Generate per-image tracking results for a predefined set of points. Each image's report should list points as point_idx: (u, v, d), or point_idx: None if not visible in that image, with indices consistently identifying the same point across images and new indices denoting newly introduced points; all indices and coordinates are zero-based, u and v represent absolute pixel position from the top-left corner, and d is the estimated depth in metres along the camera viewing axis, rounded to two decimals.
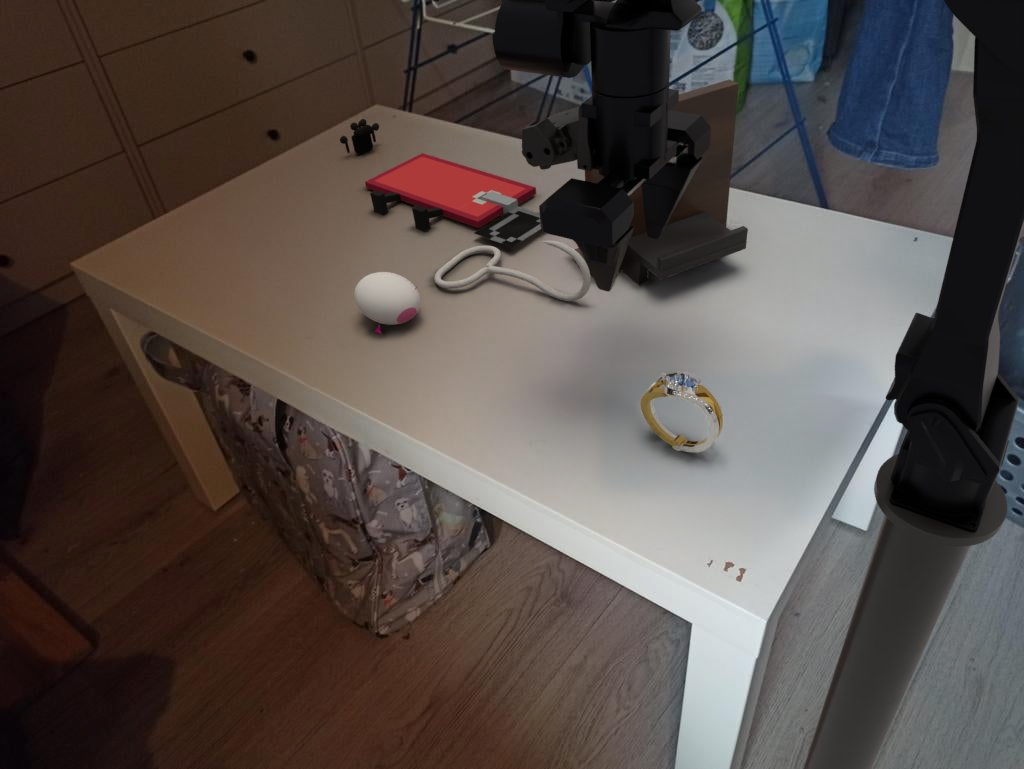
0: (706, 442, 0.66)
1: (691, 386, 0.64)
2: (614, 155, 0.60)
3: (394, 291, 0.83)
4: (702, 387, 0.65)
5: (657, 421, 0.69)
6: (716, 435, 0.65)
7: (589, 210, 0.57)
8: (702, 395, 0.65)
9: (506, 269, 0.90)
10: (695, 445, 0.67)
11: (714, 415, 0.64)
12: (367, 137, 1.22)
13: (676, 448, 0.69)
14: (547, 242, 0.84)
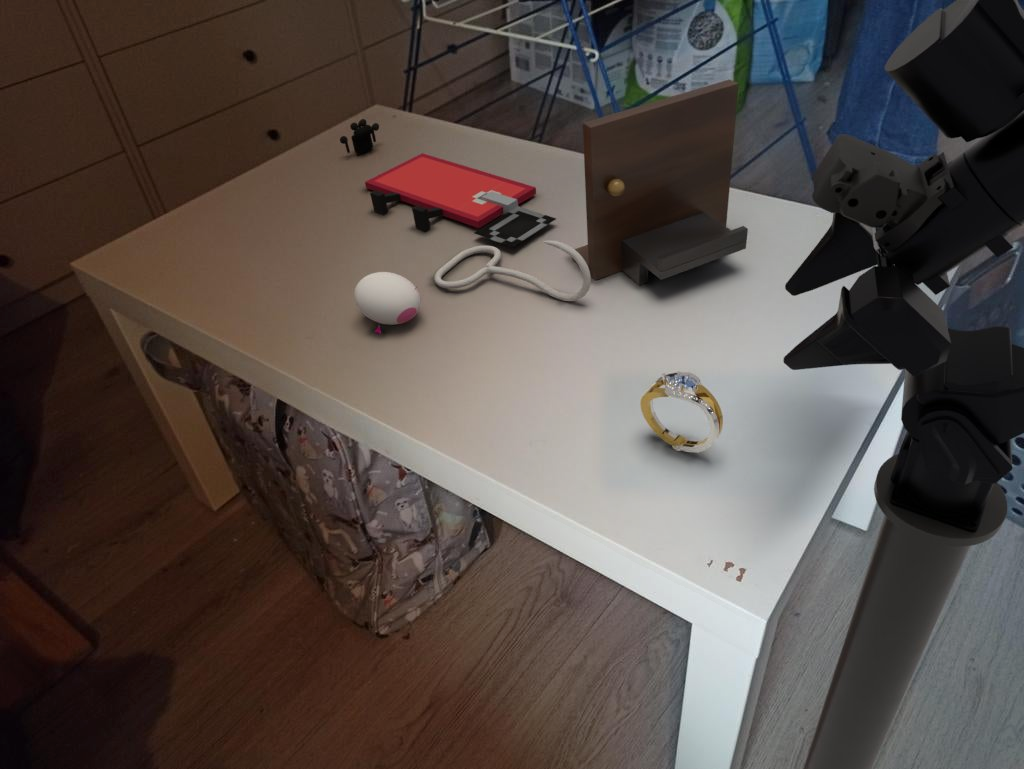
0: (706, 442, 0.66)
1: (691, 386, 0.64)
2: (933, 257, 0.49)
3: (394, 291, 0.83)
4: (702, 387, 0.65)
5: (657, 421, 0.69)
6: (716, 435, 0.65)
7: (939, 339, 0.46)
8: (702, 395, 0.65)
9: (506, 269, 0.90)
10: (695, 445, 0.67)
11: (714, 415, 0.64)
12: (367, 137, 1.22)
13: (676, 448, 0.69)
14: (547, 242, 0.84)
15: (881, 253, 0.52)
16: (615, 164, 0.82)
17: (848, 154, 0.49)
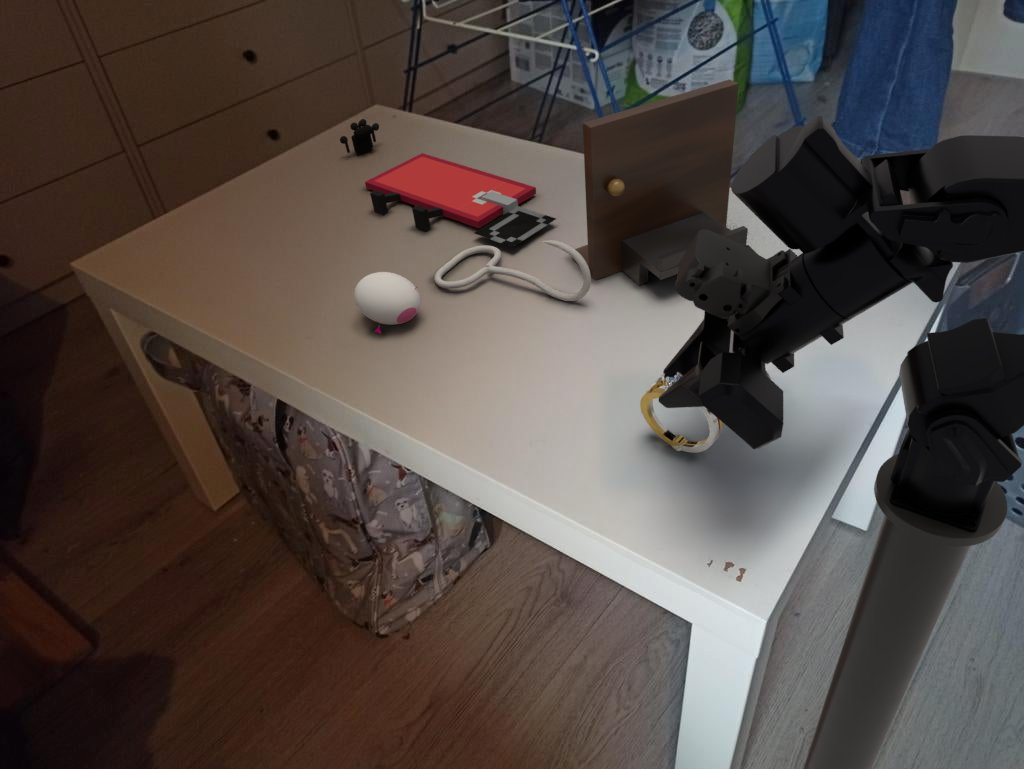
0: (706, 442, 0.66)
1: None
2: (777, 342, 0.56)
3: (394, 291, 0.83)
4: None
5: (657, 421, 0.69)
6: (716, 435, 0.65)
7: (773, 419, 0.53)
8: None
9: (506, 269, 0.90)
10: (695, 445, 0.67)
11: (714, 415, 0.64)
12: (367, 137, 1.22)
13: (676, 448, 0.69)
14: (547, 242, 0.84)
15: None
16: (615, 164, 0.82)
17: (704, 251, 0.55)
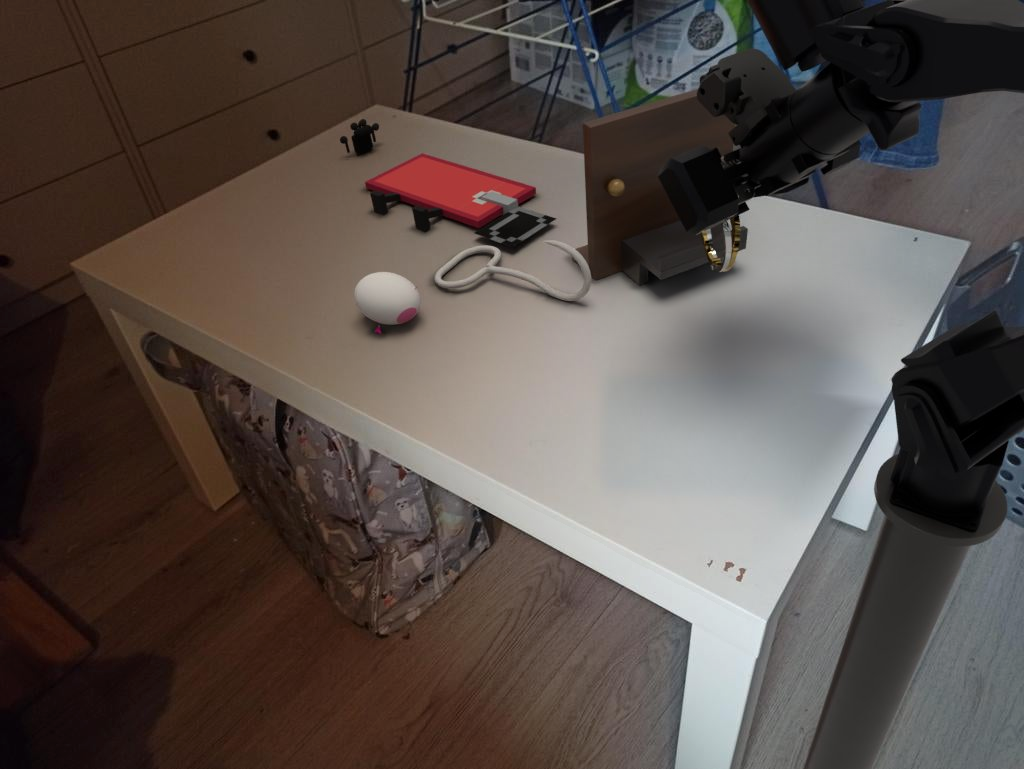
0: (722, 262, 0.74)
1: None
2: (759, 159, 0.63)
3: (394, 291, 0.83)
4: None
5: (709, 240, 0.78)
6: (727, 255, 0.72)
7: (699, 205, 0.62)
8: None
9: (506, 268, 0.90)
10: None
11: (728, 234, 0.72)
12: (367, 137, 1.22)
13: (711, 267, 0.77)
14: (548, 242, 0.84)
15: None
16: (615, 164, 0.82)
17: (733, 60, 0.63)
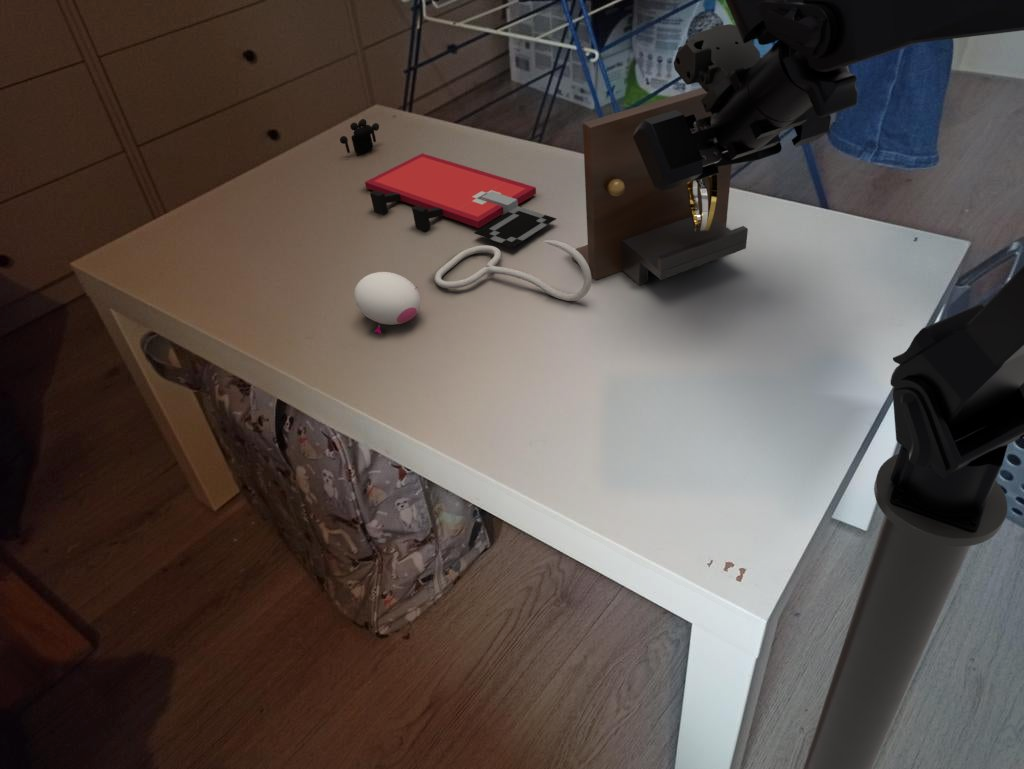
0: (701, 223, 0.80)
1: None
2: (724, 124, 0.69)
3: (394, 291, 0.83)
4: (714, 175, 0.78)
5: (695, 204, 0.84)
6: (704, 216, 0.79)
7: (664, 163, 0.69)
8: (710, 180, 0.79)
9: (506, 268, 0.90)
10: None
11: (705, 196, 0.78)
12: (367, 137, 1.22)
13: (694, 228, 0.84)
14: (548, 242, 0.84)
15: None
16: (615, 164, 0.82)
17: (710, 34, 0.70)
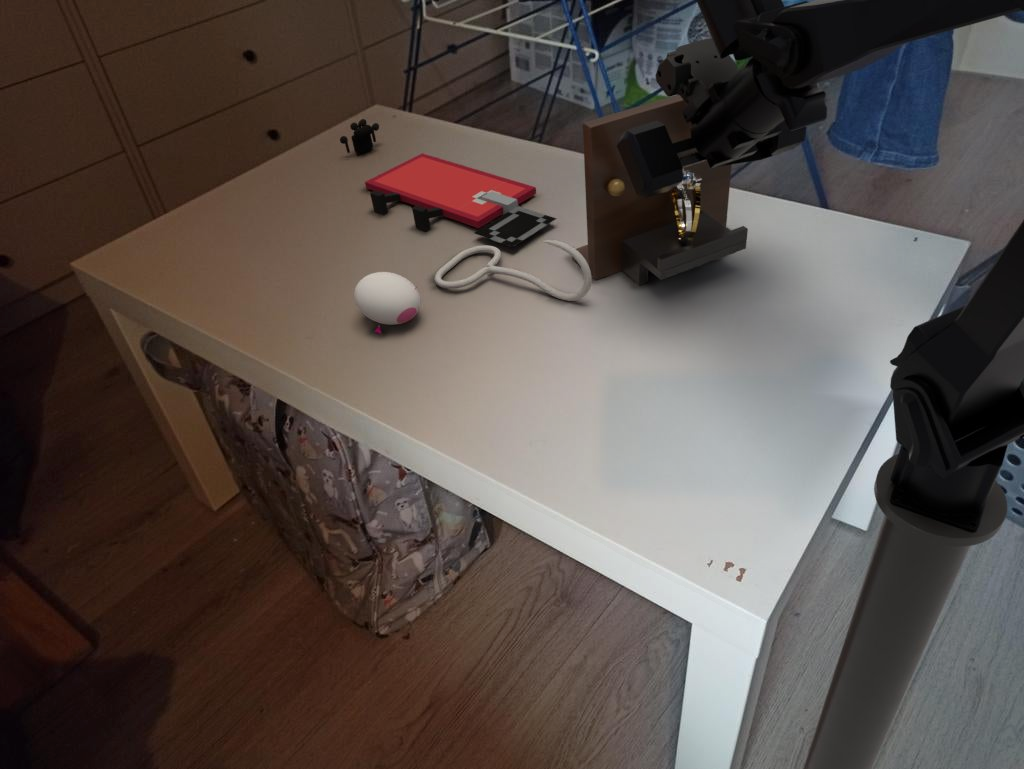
0: (685, 233, 0.84)
1: None
2: (703, 135, 0.72)
3: (394, 291, 0.83)
4: (697, 187, 0.82)
5: (680, 214, 0.88)
6: (688, 227, 0.83)
7: (646, 172, 0.72)
8: (694, 193, 0.82)
9: (506, 268, 0.90)
10: None
11: (689, 208, 0.82)
12: (367, 137, 1.22)
13: (678, 238, 0.87)
14: (548, 242, 0.84)
15: None
16: (615, 164, 0.82)
17: (690, 48, 0.73)
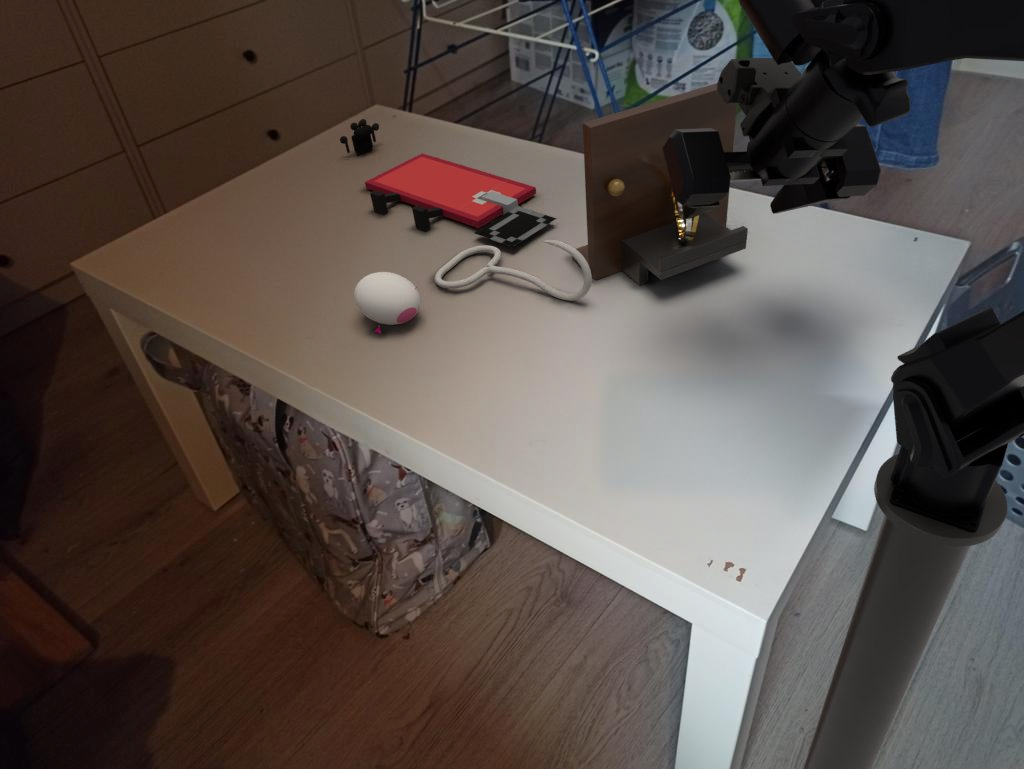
0: (685, 233, 0.84)
1: None
2: (759, 146, 0.65)
3: (394, 291, 0.83)
4: None
5: (680, 214, 0.88)
6: (688, 227, 0.83)
7: (688, 171, 0.64)
8: None
9: (506, 268, 0.90)
10: None
11: None
12: (367, 137, 1.22)
13: (678, 238, 0.87)
14: (548, 241, 0.84)
15: None
16: (615, 164, 0.82)
17: (759, 61, 0.67)
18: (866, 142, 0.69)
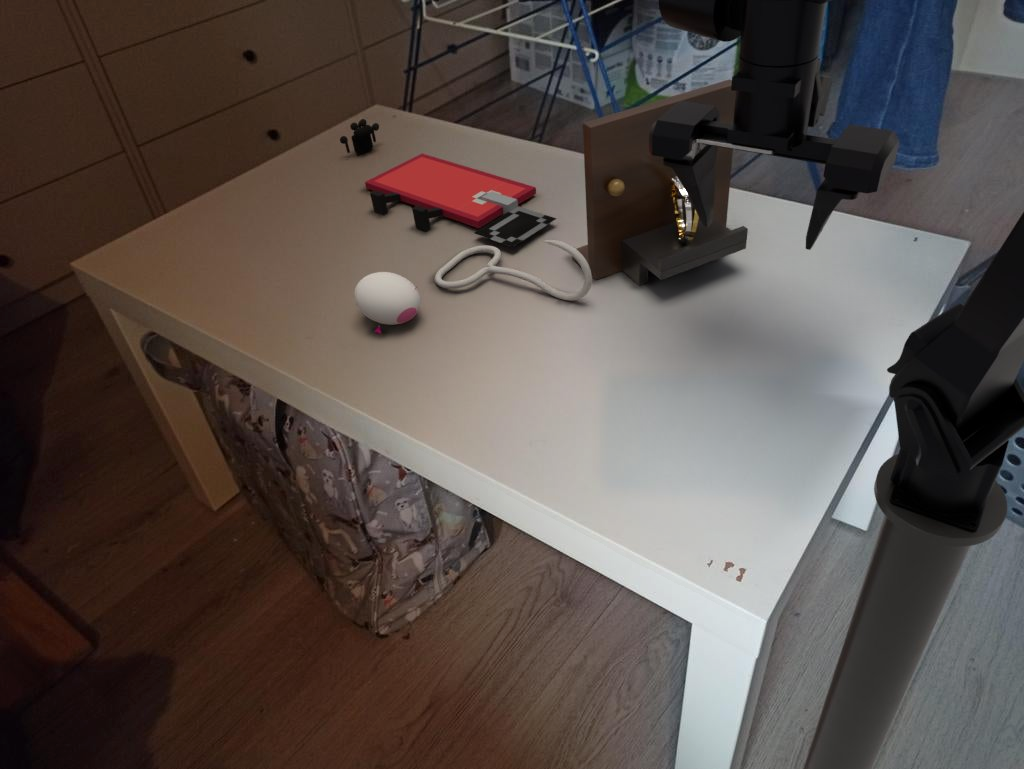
0: (685, 233, 0.84)
1: None
2: None
3: (394, 291, 0.83)
4: None
5: (680, 214, 0.88)
6: (688, 227, 0.83)
7: (659, 118, 0.67)
8: None
9: (506, 268, 0.90)
10: None
11: (689, 208, 0.82)
12: (367, 137, 1.22)
13: (678, 238, 0.87)
14: (548, 241, 0.84)
15: None
16: (615, 164, 0.82)
17: None
18: (880, 138, 0.60)
